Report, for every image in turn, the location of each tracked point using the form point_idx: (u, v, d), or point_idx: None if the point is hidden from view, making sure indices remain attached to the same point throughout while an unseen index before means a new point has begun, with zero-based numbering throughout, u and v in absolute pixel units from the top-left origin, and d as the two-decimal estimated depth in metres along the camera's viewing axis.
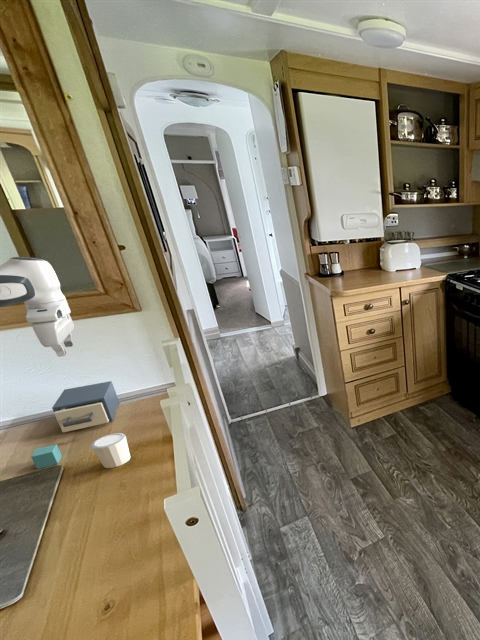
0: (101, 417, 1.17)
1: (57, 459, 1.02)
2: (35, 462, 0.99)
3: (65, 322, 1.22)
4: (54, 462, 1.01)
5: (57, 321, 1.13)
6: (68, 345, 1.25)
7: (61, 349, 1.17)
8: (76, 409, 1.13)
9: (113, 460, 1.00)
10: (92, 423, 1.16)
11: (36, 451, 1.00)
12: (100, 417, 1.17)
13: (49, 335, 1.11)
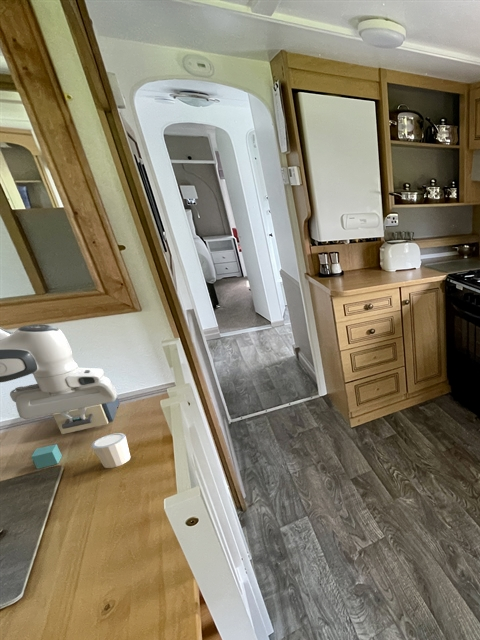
0: (100, 419, 1.16)
1: (57, 459, 1.02)
2: (35, 462, 0.99)
3: None
4: (54, 462, 1.01)
5: None
6: None
7: (84, 411, 1.12)
8: (75, 411, 1.12)
9: (113, 460, 1.00)
10: (91, 425, 1.15)
11: (36, 451, 1.00)
12: (99, 418, 1.16)
13: (113, 387, 1.14)
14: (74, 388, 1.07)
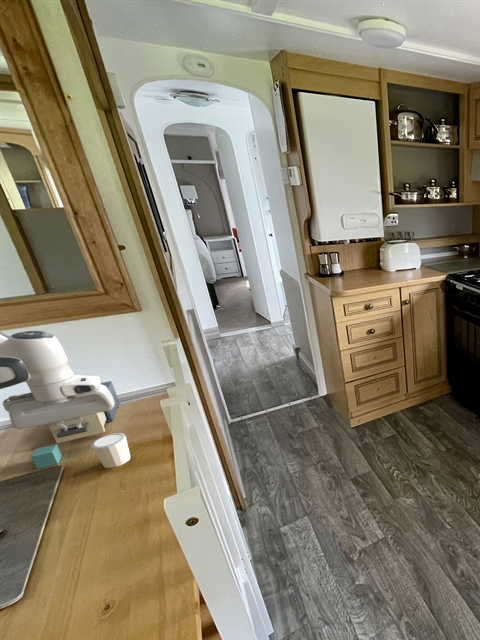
0: (97, 427, 1.12)
1: (57, 459, 1.02)
2: (35, 462, 0.99)
3: None
4: (54, 462, 1.01)
5: None
6: (73, 429, 1.07)
7: None
8: (71, 419, 1.08)
9: (113, 460, 1.00)
10: (88, 433, 1.11)
11: (36, 451, 1.00)
12: (96, 426, 1.12)
13: (110, 395, 1.10)
14: (69, 397, 1.03)
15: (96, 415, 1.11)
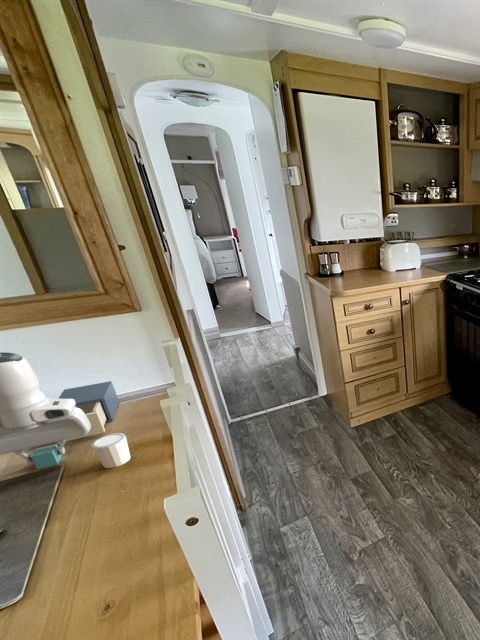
0: (97, 427, 1.12)
1: (57, 459, 1.02)
2: (35, 462, 0.99)
3: None
4: (54, 462, 1.01)
5: None
6: None
7: None
8: None
9: (113, 460, 1.00)
10: (88, 433, 1.11)
11: (36, 451, 1.00)
12: (96, 426, 1.12)
13: (86, 419, 1.04)
14: (40, 422, 0.97)
15: (96, 415, 1.11)
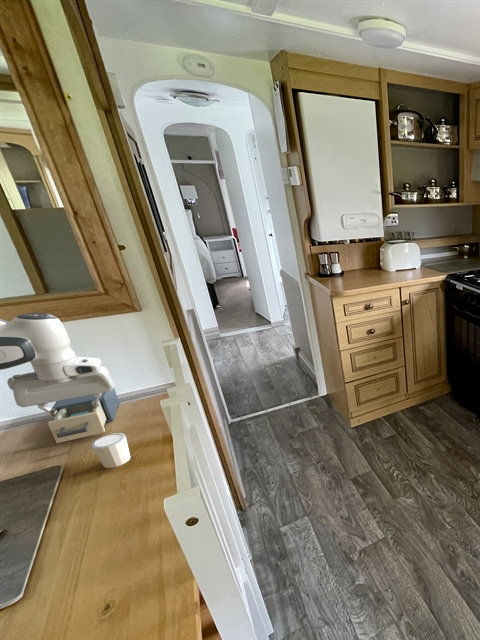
0: (97, 427, 1.12)
1: None
2: None
3: None
4: None
5: None
6: (55, 413, 1.09)
7: None
8: (71, 419, 1.08)
9: (113, 460, 1.00)
10: (88, 433, 1.11)
11: (71, 416, 1.12)
12: (96, 426, 1.12)
13: (110, 377, 1.14)
14: (71, 377, 1.08)
15: (96, 415, 1.11)
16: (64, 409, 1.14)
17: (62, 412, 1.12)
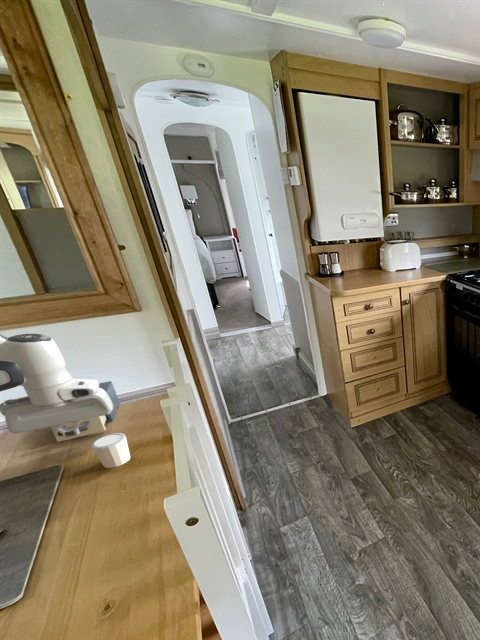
0: (98, 425, 1.13)
1: None
2: None
3: None
4: None
5: None
6: None
7: None
8: None
9: (113, 460, 1.00)
10: (88, 432, 1.12)
11: None
12: (96, 425, 1.13)
13: (109, 399, 1.08)
14: (67, 401, 1.01)
15: None
16: None
17: None
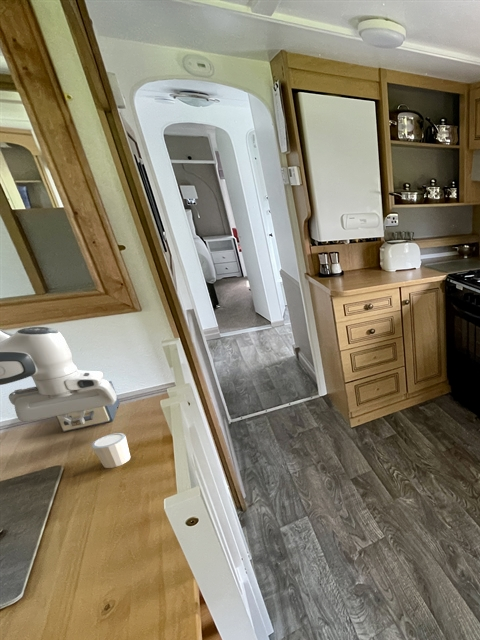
0: (102, 416, 1.18)
1: None
2: None
3: None
4: None
5: None
6: None
7: None
8: None
9: (113, 460, 1.00)
10: (93, 421, 1.17)
11: None
12: (100, 415, 1.18)
13: (112, 390, 1.13)
14: (73, 391, 1.06)
15: None
16: None
17: None
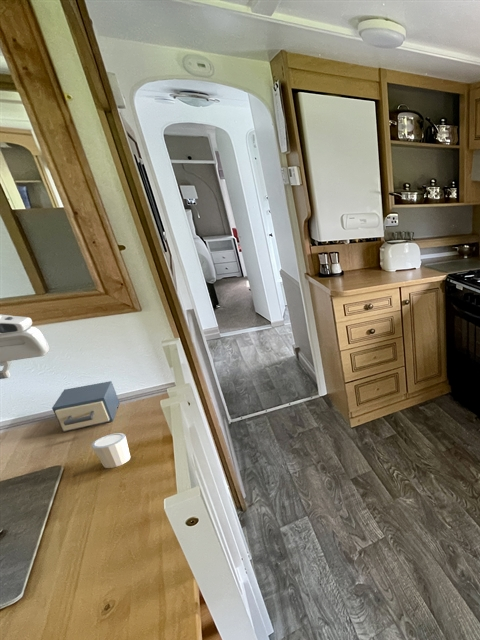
0: (102, 416, 1.18)
1: None
2: None
3: None
4: None
5: None
6: None
7: None
8: (77, 408, 1.14)
9: (113, 460, 1.00)
10: (93, 421, 1.17)
11: (77, 405, 1.18)
12: (100, 415, 1.18)
13: (43, 340, 0.98)
14: None
15: (101, 404, 1.17)
16: None
17: None
